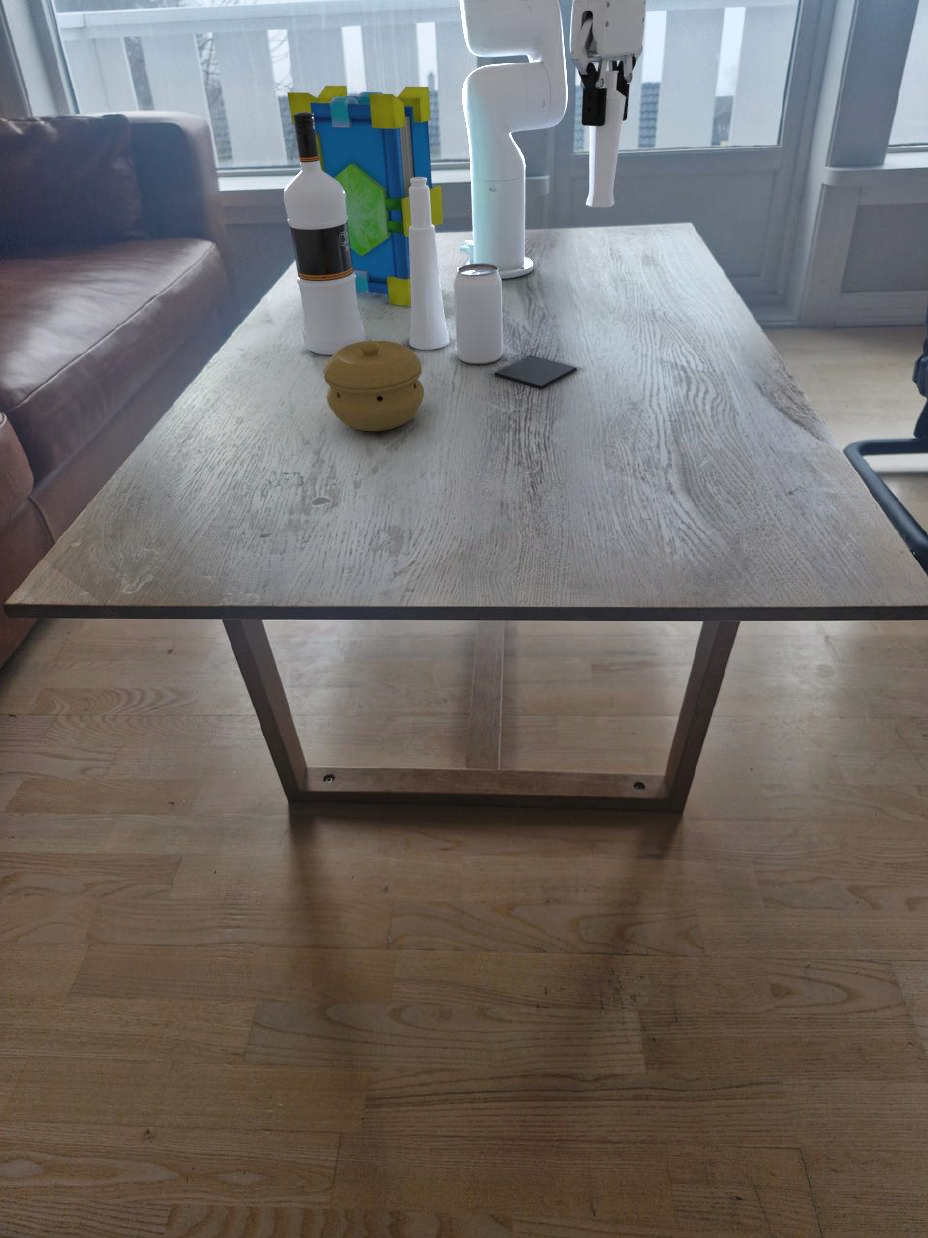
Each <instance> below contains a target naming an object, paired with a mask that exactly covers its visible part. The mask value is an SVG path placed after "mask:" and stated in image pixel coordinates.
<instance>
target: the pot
mask: <svg viewBox="0 0 928 1238" xmlns="http://www.w3.org/2000/svg"><path fill="white" fill-rule="evenodd" d="M422 373H423V367H422V362H421V360H420V359H419V357H418V356H417V355H416V354H415V352H413V351H412V349H411V350H410V348H408V347H407V346H405V345H404V344H401V343H398V342H395V341H389V340H371V339H370V340H369V339H368V340H365V341H364V342H358V343H354V344H351V345H348V346H345V347H343V348H341V349H340V350H338V351H337V352H336V353H335V354H334V355H331V357H329V359H328V360H327V362H326V363H325V366H324V369H323V379H324V382H325V383H326V384H327V385H328V386H329V388H328V390H327V394H326V401H327V404H328V406H329V408H330V410H331V411H332V413H333V414H334V415H335V416H336V418H338V419H339V420H340V421H341V422H342V423H343V424H344V425H346V426H348V427H349V428H352V429H354V430H357V431H364V432H382V431H388V430H392V429H396V428H398V427H401V426H403V425H405V424H406V423H407V422H409V421H411V419H413V417H414V416H416V413H417V412H418V410H419V408H420V406H421V404H422V402H423V399H424V396H425V388H424V386H423V384H422V382H421V381H420V379H419V378H420V376H421V374H422Z"/></svg>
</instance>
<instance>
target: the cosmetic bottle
mask: <svg viewBox="0 0 928 1238" xmlns="http://www.w3.org/2000/svg"><path fill="white" fill-rule="evenodd" d="M426 182H427V178H425V177H414V178H411V179H410V183H411V186H410V187H409V199H410V212H411V226H410V227H409V259H410V284H411V306H410V332H409V341H408V343H409V346H410V347H411V348H413V349H416V350H420V351H433V350H438V349H442V348H445V347H447V346H448V345H449V343H450V336H449V333H448V332H449V331H448V328H447V323H446V322H447V321H446V316H445V309H444V303H443V294H442V293H443V292H442V283H441V273H440V265H439V253H438V244H437V243H438V242H437V235H436V226H434V225H432V224H431V208H430V192H429V187H428V186H427V185H426Z"/></svg>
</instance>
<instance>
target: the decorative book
mask: <svg viewBox="0 0 928 1238" xmlns="http://www.w3.org/2000/svg"><path fill="white" fill-rule="evenodd" d="M286 94H287V99H288V105H289V106H288V107H289V113H290V119H291V125H292V126H294V118H293V115H294V114H296V113H299V112H310V113H312V114H313V121H314V126H315V134H316V141H317V148H318V155H319V162H320V167H321V170H322V171H324V172H325V173H327V174H328V175H330V176H331V177H332V178H334V179H335V180H337V181H338V182H339V183H340V184H341V185H342V187H343V189H344V191H345V194H346V199H345V201H346V212H347V216H348V228H349V237H350V245H351V253H352V261H353V270H354V271H353V272H354V273H355V275H356V278H355V285H356V293H365V294H370V295H372V294H381V295H388V304H390V305H397V306H404V307H410V308H411V284H410V259H409V227H410V226H411V212H410V199H409V187H410V186H411V183H410V179H411V178H414V177H425V178H427V182H426V185H427V186H428V187H429V192H430V208H431V224H432V225H434V226H435V227H437V226H439V225H441V224H444V209H443V207H444V206H443V189H442V185H438V186H435V187H433V181H432V165H431V164H432V163H431V162H432V161H431V148H430V147H431V145H430V132H429V131H430V130H429V129H430V128H429V121H431V103H430V87H429V86H405V87H404V88H403V89H402V90H401V91H400V93H399V94H398V95H394V94H393V93H383V92H382V91H361V92H360V93H359V94H358V95H348V86H347V85H325V86H324V88H323V89H322V90H321V91H320V93H319V94H318V95H317V96H315V95H313V94H311V93H310V92H299V91H298V92H296V91H289V92H288V91H287V93H286Z"/></svg>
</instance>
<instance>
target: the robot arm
mask: <svg viewBox="0 0 928 1238" xmlns="http://www.w3.org/2000/svg"><path fill="white" fill-rule="evenodd" d="M646 2H647V0H572V4H571V16H570V31H569V32H570V33H569V53H570V55H571V63H572V64H573V66H574V67H575V68H576V70H577V73H578V75H579V78H580V83H579V84H580V88H581V89H582V100H581V101H582V102H581V103H582V105H581V125H582V126H584V127H587V126H588V127H590V126H603V125H604V124H605V116H606V99H607V88H603V86H604V82H605V76H606V71H619V72H618V73H617V85H616V90H617V91H619V92H620V93H621V94H623V95H624V96H625V97H626V101H625V108H624V115H623V122H624V121H626V120H627V119H628V113H629V111H628V110H629V100H630V99H629V98H630V85H631V83H632V82H633V78H634V77H633V75H634V73H633V71H634V69H635V66H636V64H637V61H638V59H639V58H640V56H641V54H642V53H643V39H644V31H645V22H646V21H645V20H646V6H647V5H646V4H647V3H646ZM459 5H460V11H461V21H462V28H463V34H464V39H465V42H466V46H467V48H468V50H469V52H470V53H472V54H473V55H475V56H477V57H482V58H498V57H513V56H527V58H528V60H529V62H518V63H517V62H512V63H511V62H510V63H509V62H508V63H496V64H489V65H488V64H487V65H483V66H481V67H478V68H476V69H475V70H472V71H471V73H469V74H468V75H467V77H466V79H465V81H464V83H463V88H462V105H463V112H464V117H465V122H466V128H467V129H466V131H467V136H468V146H469V163H470V164H469V165H470V182H471V183H470V189H471V190H470V191H471V219H472V220H471V223H472V240H468V239H466V240H464V241H463V243H462V245H461V246H459V253H460V254H463V255H468V259H469V260H468V261H467V262H466V263H465V265H468V264H477V263H484V264H492V265H495V266H497V267H498V273H499V275H500V278H501V280H505V279H513V278H519V277H522V276H525V275H528V274H530V273H531V272H532V271H533V270H534V262H533V260H531V258H528V257H526V162H525V157H524V155H523V153H522V151H521V149H520V148H519V146H518V145H517V143H516V141H515V140H514V138H513V136H512V134H513V133H519V132H522V131H533V130H543V129H549V128H554V127H556V126H558V125H559V124H560V122H562V120H563V119H564V117H565V113H566V111H567V105H568V83H567V82H568V81H567V67H566V56H565V43H564V42H565V41H564V28H563V27H564V26H563V17H562V11H561V6H560V2H559V0H459ZM596 65H597V68H596ZM607 69H608V70H607Z"/></svg>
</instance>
